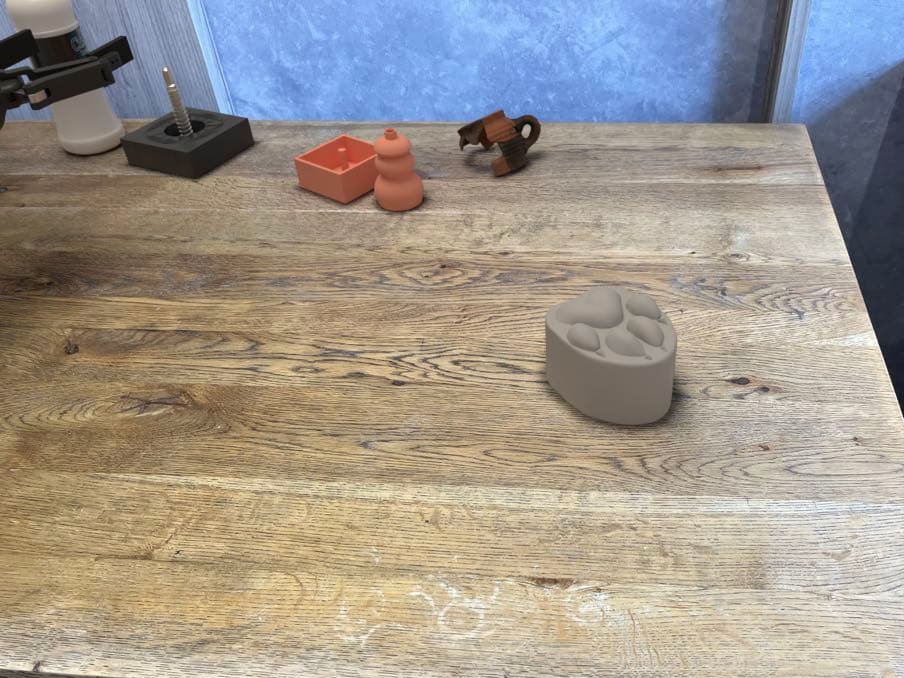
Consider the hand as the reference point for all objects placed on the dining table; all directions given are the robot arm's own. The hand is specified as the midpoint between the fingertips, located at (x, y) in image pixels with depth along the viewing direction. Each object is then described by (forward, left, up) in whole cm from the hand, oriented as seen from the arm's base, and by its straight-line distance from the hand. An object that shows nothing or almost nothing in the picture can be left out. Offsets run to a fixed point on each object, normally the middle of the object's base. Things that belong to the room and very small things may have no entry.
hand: (79, 43), depth 100 cm
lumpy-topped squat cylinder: (+75, -12, -21) cm, 79 cm away
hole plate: (-3, +14, -21) cm, 25 cm away
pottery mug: (+42, +29, -21) cm, 55 cm away
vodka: (-20, +11, -21) cm, 30 cm away
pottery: (+29, +14, -21) cm, 38 cm away
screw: (-3, +14, -21) cm, 25 cm away
